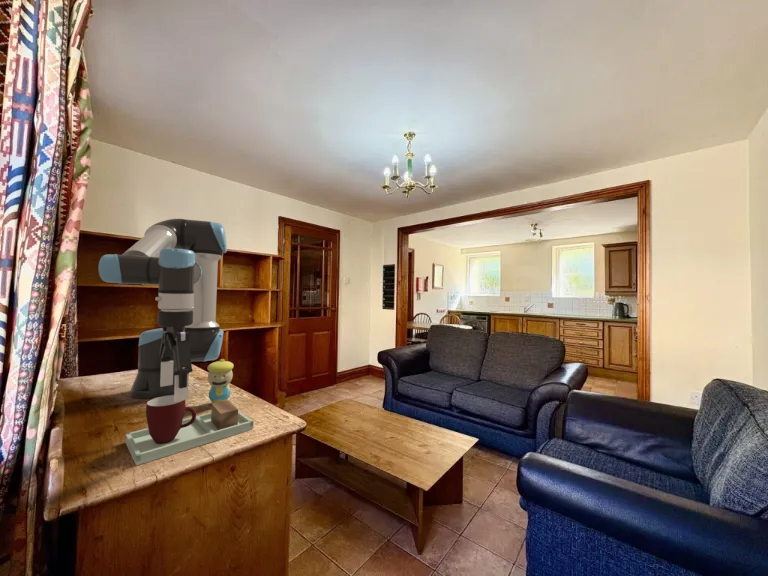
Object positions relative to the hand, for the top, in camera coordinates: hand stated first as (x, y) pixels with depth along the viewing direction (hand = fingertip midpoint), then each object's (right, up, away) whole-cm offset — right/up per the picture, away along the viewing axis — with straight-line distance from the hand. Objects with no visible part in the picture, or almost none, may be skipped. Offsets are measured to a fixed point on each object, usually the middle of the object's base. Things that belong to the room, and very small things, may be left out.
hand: (173, 392), depth 79 cm
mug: (0, -12, -1) cm, 12 cm away
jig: (+3, -12, +3) cm, 13 cm away
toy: (-2, -13, +25) cm, 28 cm away
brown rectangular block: (+9, -12, +9) cm, 17 cm away
